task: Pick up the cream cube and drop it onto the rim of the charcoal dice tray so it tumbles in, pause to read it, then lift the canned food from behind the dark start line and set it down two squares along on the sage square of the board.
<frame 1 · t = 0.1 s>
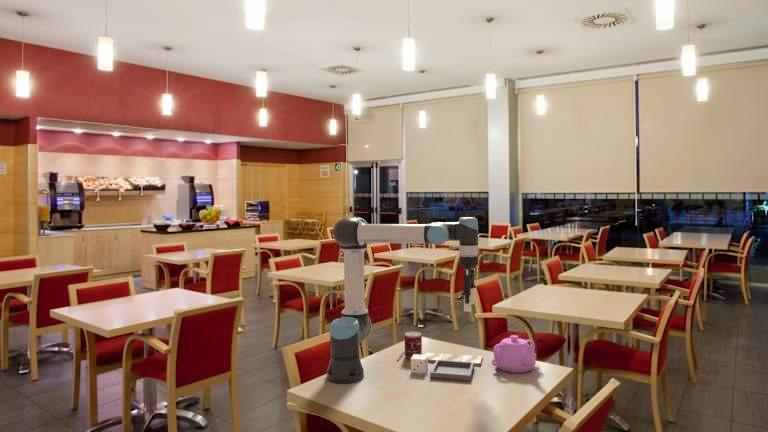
hand: (469, 307, 209), 28 cm above the table, fingers open, 13 cm apart
board: (452, 360, 229), on the table
canned food: (413, 358, 234), on the table
dice tray: (452, 373, 213), on the table
cream cube: (419, 370, 217), on the table
teapot: (517, 370, 216), on the table
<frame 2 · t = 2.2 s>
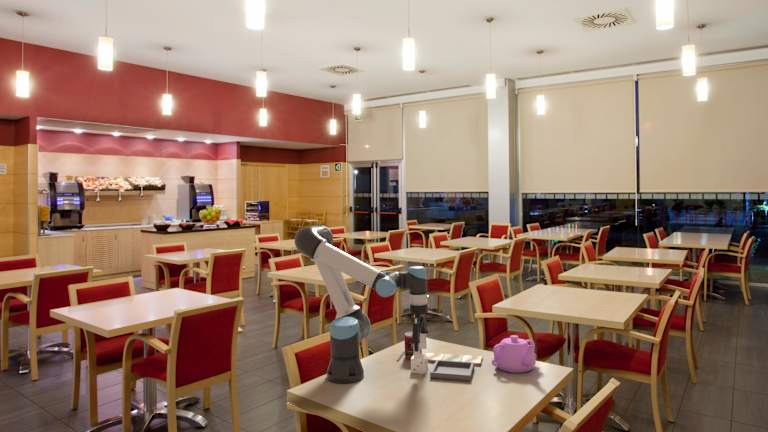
hand: (420, 353, 216), 7 cm above the table, fingers open, 13 cm apart
nothing on the table moved.
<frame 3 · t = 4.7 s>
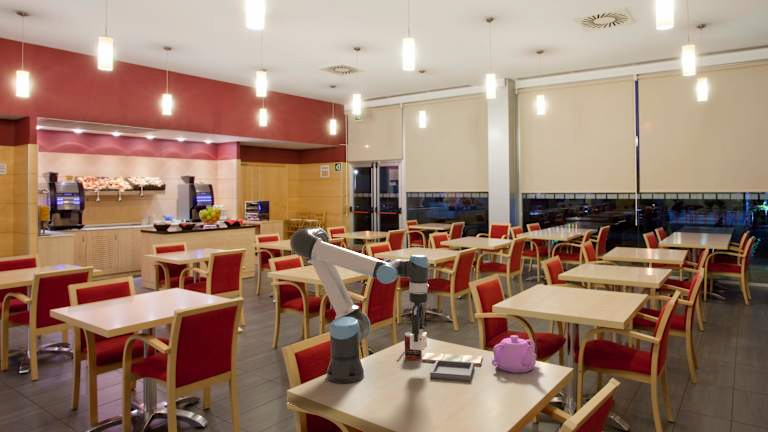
hand: (417, 346, 216), 10 cm above the table, fingers closed on cream cube, 6 cm apart
cream cube: (418, 347, 216), point 10 cm above the table, touching gripper
everything else where it was.
when the fingers open (11 cm above the table, at t = 5.9 s): cream cube drops 7 cm and tips over, resting on dice tray.
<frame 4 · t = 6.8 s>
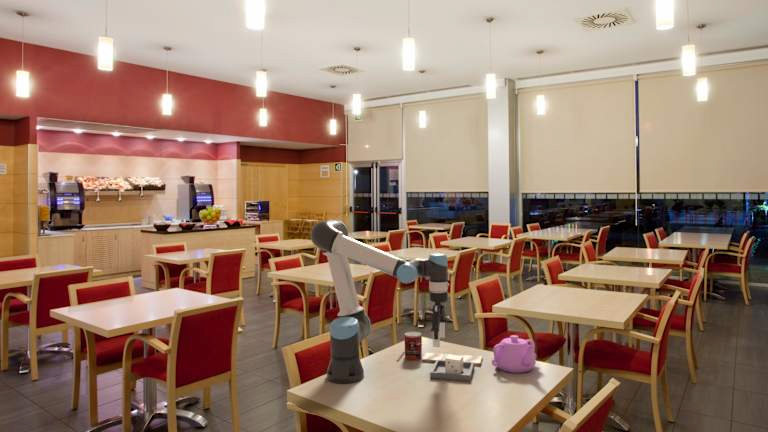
hand: (439, 342, 214), 13 cm above the table, fingers open, 13 cm apart
cream cube: (447, 363, 214), point 4 cm above the table, tilted 91°, touching dice tray
everything else where it was.
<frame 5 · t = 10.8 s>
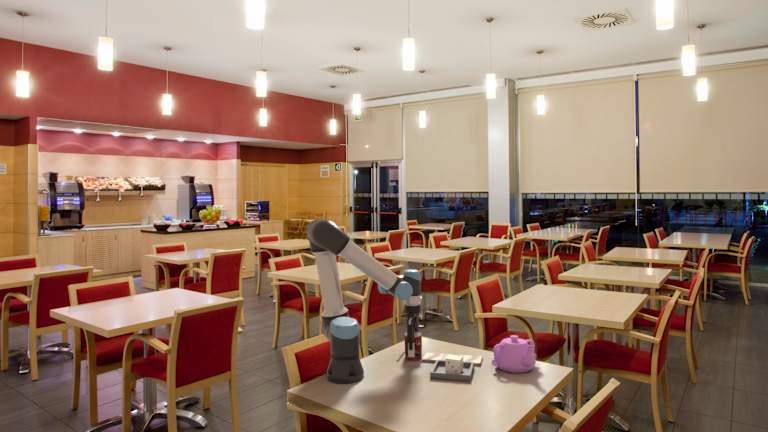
hand: (413, 353, 234), 2 cm above the table, fingers closed on canned food, 8 cm apart
canned food: (413, 358, 234), on the table, touching gripper
everything else where it was.
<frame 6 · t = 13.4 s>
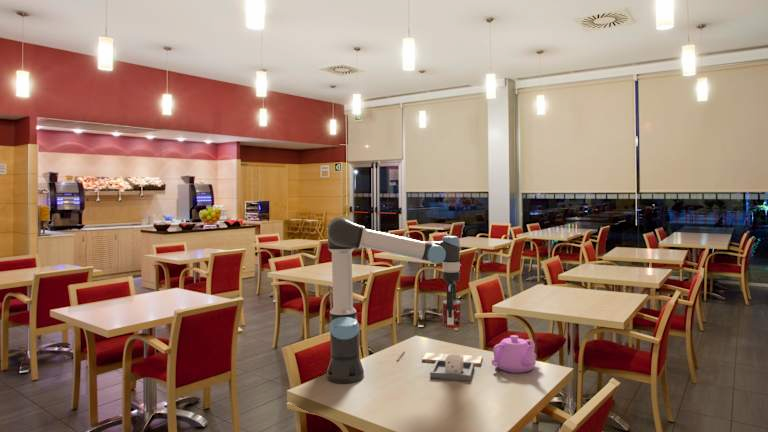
hand: (451, 322, 228), 17 cm above the table, fingers closed on canned food, 8 cm apart
canned food: (451, 326, 228), point 15 cm above the table, touching gripper
everything else where it was.
when the fingers open (4 cm above the table, at t = 16.3 s): canned food stays where it is, resting on board.
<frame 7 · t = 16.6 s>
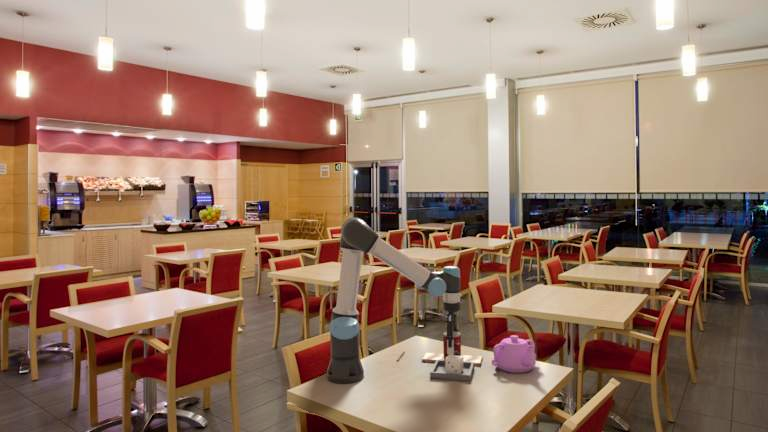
hand: (452, 350, 229), 5 cm above the table, fingers open, 11 cm apart
canned food: (452, 358, 229), point 1 cm above the table, touching board
everything else where it was.
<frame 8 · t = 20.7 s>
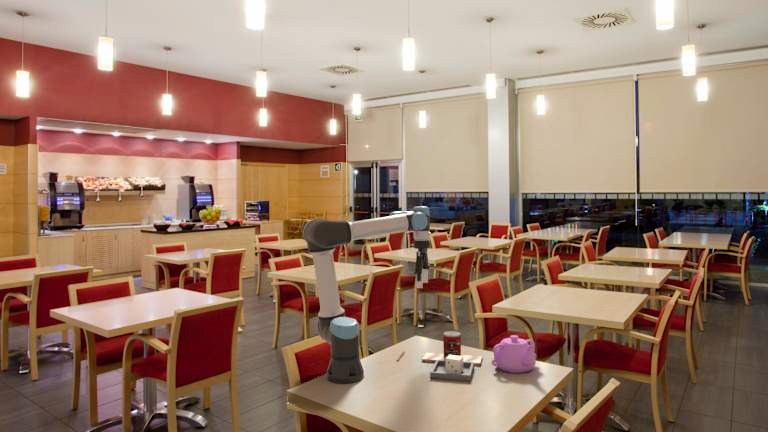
hand: (422, 285, 239), 32 cm above the table, fingers open, 13 cm apart
nothing on the table moved.
at the end: canned food inside the target area on the board (0.0 cm from its centre), point 1.0 cm above the board's base; canned food tilted 0°; cream cube inside the target area on the dice tray (2.2 cm from its centre), point 3.8 cm above the dice tray's base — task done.
